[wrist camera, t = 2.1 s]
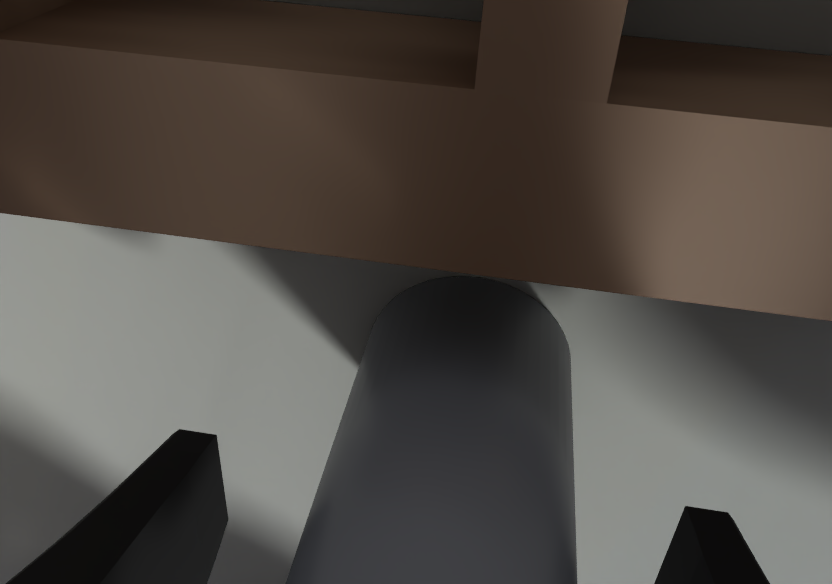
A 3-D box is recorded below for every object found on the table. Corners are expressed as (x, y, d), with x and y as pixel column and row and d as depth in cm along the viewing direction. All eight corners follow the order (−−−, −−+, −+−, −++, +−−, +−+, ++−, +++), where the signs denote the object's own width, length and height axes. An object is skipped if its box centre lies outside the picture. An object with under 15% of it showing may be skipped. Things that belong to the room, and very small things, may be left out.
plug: (588, 292, 13) (630, 884, 6) (552, 448, 16) (552, 1013, 8) (370, 263, 14) (166, 788, 6) (366, 419, 16) (212, 937, 9)
